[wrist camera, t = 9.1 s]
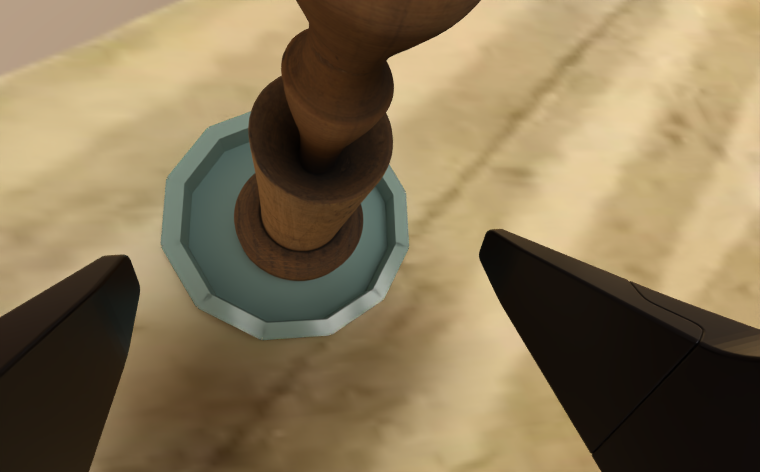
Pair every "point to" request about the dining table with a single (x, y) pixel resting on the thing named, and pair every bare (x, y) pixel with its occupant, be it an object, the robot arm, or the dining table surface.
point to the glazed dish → (246, 280)
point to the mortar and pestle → (328, 131)
